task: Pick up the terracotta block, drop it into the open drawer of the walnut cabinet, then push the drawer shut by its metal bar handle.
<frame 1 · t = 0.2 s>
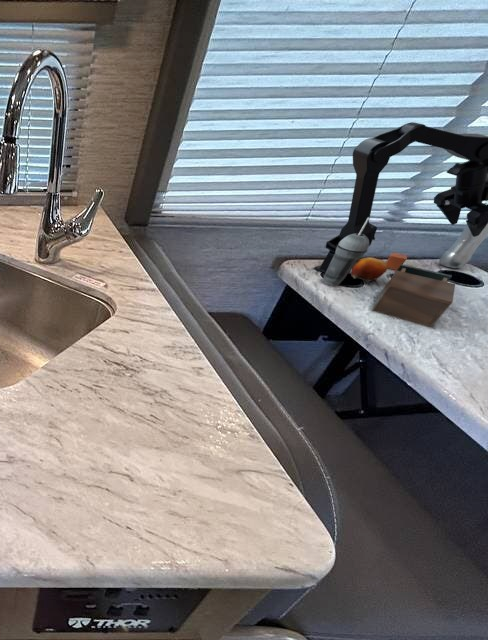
hand: (464, 229, 117), 15 cm above the table, tool tilted 30°, fingers open, 9 cm apart
cabinet: (403, 309, 110), on the table
beverage cup: (330, 283, 123), on the table
plastic bottle: (448, 266, 131), on the table
fruit: (361, 279, 125), on the table
drawer: (417, 283, 114), point 4 cm above the table, slide at 8.0 cm
block: (391, 267, 131), on the table
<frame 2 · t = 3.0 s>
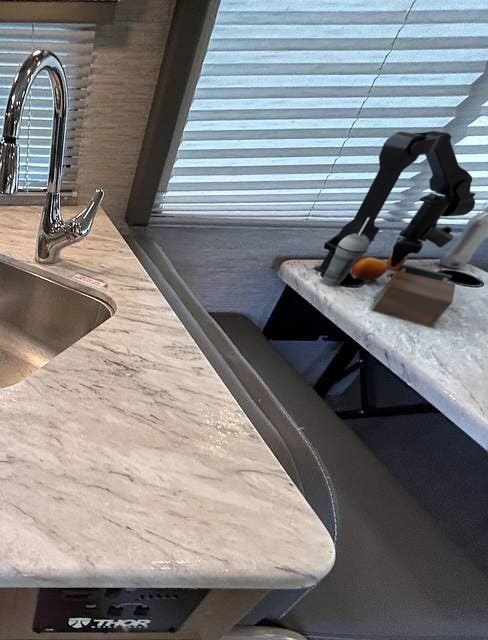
hand: (393, 264, 130), 1 cm above the table, tool pointing down, fingers closed on block, 4 cm apart
block: (391, 267, 131), on the table, touching gripper
everything else where it was.
when the fingers open (5 cm above the table, at t = 9.0 s): block drops 2 cm, resting on drawer.
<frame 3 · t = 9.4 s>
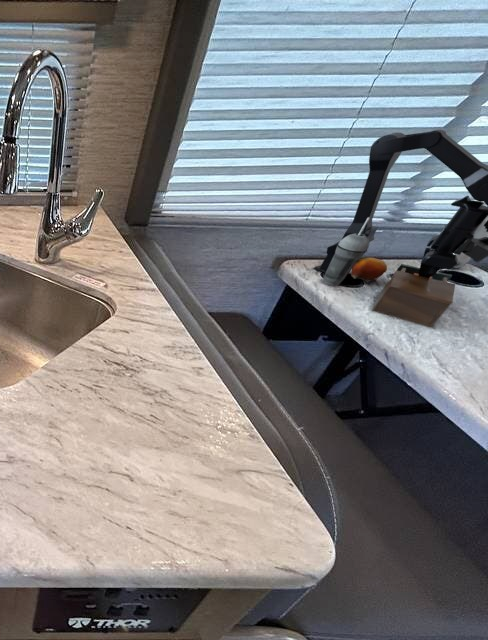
hand: (420, 279, 113), 5 cm above the table, tool pointing down, fingers open, 6 cm apart
drawer: (417, 282, 114), point 4 cm above the table, slide at 8.4 cm, touching block, gripper
block: (413, 289, 115), point 2 cm above the table, touching drawer
everything else where it was.
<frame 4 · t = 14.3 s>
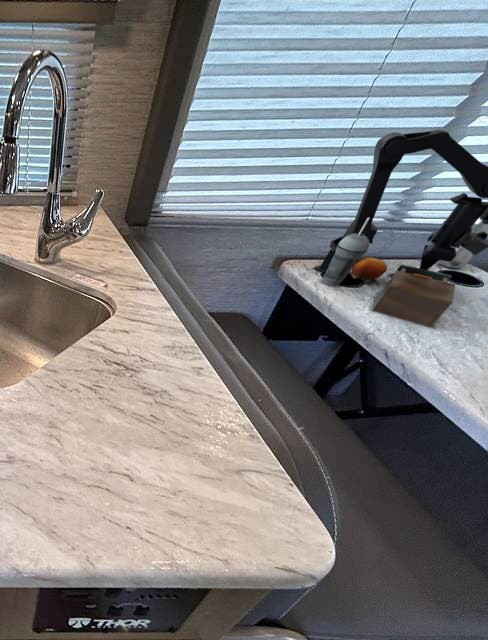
hand: (420, 272, 119), 4 cm above the table, tool pointing down, fingers closed
drawer: (417, 283, 114), point 4 cm above the table, slide at 7.9 cm, touching block, gripper
everything else where it was.
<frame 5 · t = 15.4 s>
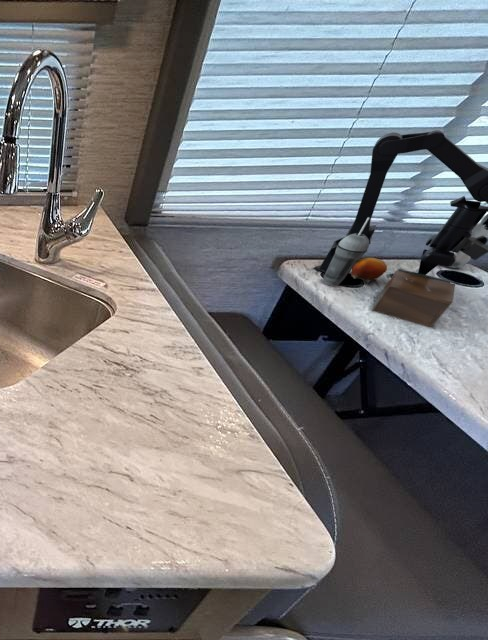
hand: (419, 277, 116), 4 cm above the table, tool pointing down, fingers closed
drawer: (415, 288, 112), point 4 cm above the table, slide at 3.5 cm, touching block, gripper
block: (411, 295, 112), point 2 cm above the table, touching drawer
everything else where it was.
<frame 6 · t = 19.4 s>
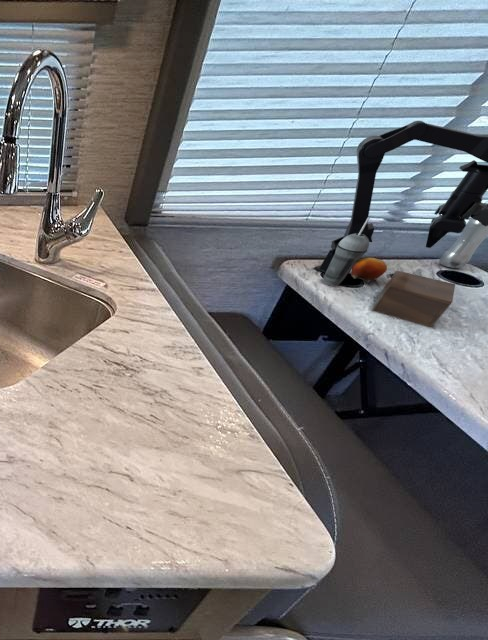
hand: (428, 247, 114), 12 cm above the table, tool pointing down, fingers closed
drawer: (414, 292, 110), point 4 cm above the table, slide at 0.0 cm, touching block
block: (409, 299, 110), point 2 cm above the table, touching drawer
everything else where it was.
at the end: block inside the target area in the cabinet (2.8 cm from its centre), point 2.0 cm above the cabinet's base; drawer slide at 0.0 cm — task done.
